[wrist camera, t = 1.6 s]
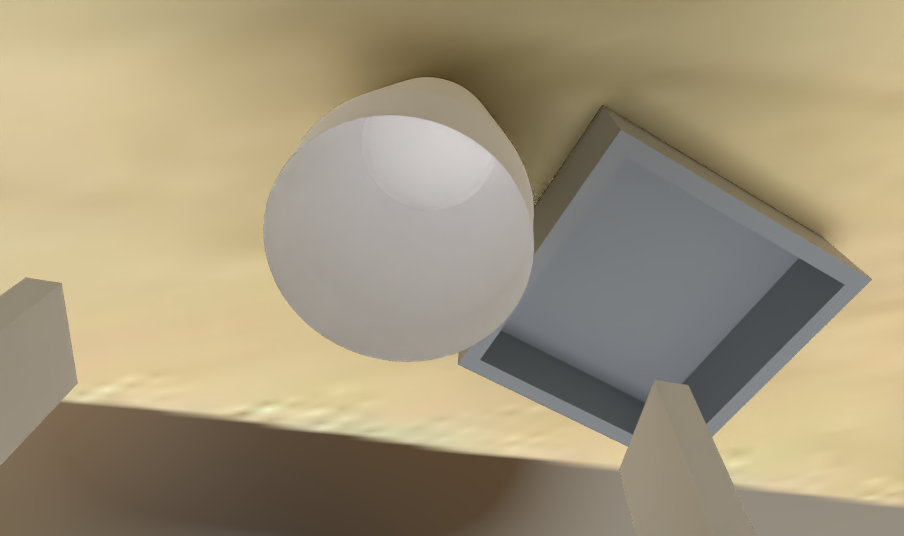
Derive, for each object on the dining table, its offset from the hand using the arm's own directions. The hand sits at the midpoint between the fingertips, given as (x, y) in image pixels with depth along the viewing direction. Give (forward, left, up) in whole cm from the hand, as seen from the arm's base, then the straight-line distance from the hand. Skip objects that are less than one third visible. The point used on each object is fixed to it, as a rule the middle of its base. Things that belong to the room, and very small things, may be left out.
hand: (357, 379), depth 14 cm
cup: (0, 0, -19) cm, 19 cm away
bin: (+1, +13, -19) cm, 23 cm away
